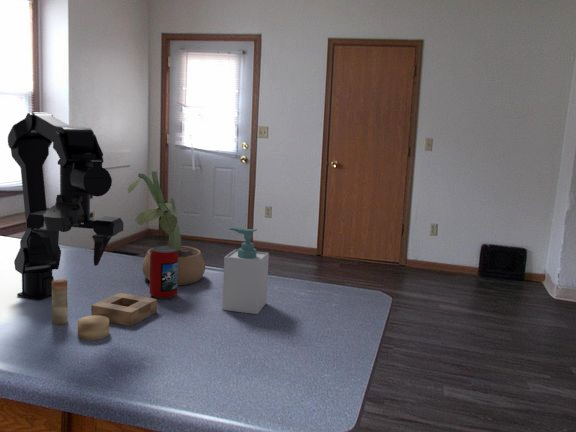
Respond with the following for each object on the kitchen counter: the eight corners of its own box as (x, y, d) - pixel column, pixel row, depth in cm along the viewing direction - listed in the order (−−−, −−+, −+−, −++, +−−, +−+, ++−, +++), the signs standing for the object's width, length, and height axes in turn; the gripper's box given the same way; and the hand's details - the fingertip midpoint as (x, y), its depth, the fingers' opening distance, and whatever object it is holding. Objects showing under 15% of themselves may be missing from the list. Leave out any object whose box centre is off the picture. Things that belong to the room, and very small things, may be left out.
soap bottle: (232, 299, 140) (235, 223, 136) (266, 303, 138) (270, 227, 135) (221, 310, 131) (224, 230, 128) (257, 314, 130) (261, 233, 126)
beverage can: (170, 301, 135) (171, 252, 133) (144, 297, 137) (145, 249, 135) (181, 293, 142) (182, 247, 140) (156, 290, 143) (157, 244, 141)
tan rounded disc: (71, 337, 111) (70, 322, 110) (90, 327, 117) (90, 313, 116) (96, 342, 109) (96, 328, 109) (115, 332, 115) (115, 318, 114)
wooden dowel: (49, 323, 117) (48, 282, 115) (59, 319, 120) (58, 278, 118) (60, 326, 116) (60, 284, 114) (70, 321, 119) (70, 280, 117)
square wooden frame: (91, 318, 121) (91, 305, 121) (119, 305, 131) (119, 292, 130) (130, 326, 118) (131, 312, 118) (156, 311, 127) (157, 299, 127)
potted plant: (174, 266, 167) (177, 165, 162) (217, 279, 156) (221, 171, 151) (109, 280, 149) (109, 167, 144) (152, 296, 138) (154, 175, 133)
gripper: (8, 190, 108) (10, 268, 110) (100, 198, 106) (100, 278, 108) (40, 184, 119) (41, 255, 121) (125, 191, 116) (123, 263, 119)
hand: (75, 263), depth 117 cm, fingers open, 9 cm apart
